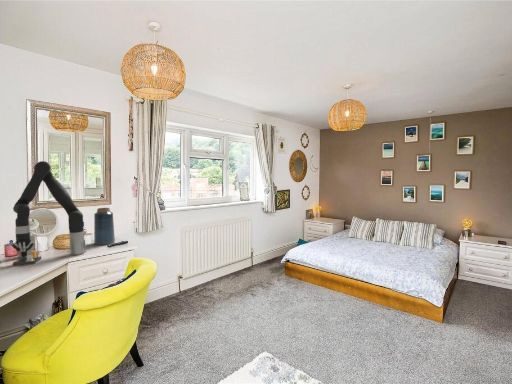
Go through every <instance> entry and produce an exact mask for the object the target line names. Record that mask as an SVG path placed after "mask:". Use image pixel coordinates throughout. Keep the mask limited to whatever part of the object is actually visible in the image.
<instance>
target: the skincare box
mask: <svg viewBox="0 0 512 384" xmlns="http://www.w3.org/2000/svg"><path fill="white" fill-rule="evenodd" d="M35 235H36V234H30V240H31V242H33V243H35V244H34V245H33V247H32V248H31V249H30V250H28V251H27V255H30V252H31V251H36V239H35V237H36V236H35ZM17 246H18V245H17ZM29 246H30V244H29V245H28V247H29ZM18 247H19V246H18ZM17 253H18V258H23V257H22V256H21V252H20V251H17ZM26 257H27V256H26Z"/></svg>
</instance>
